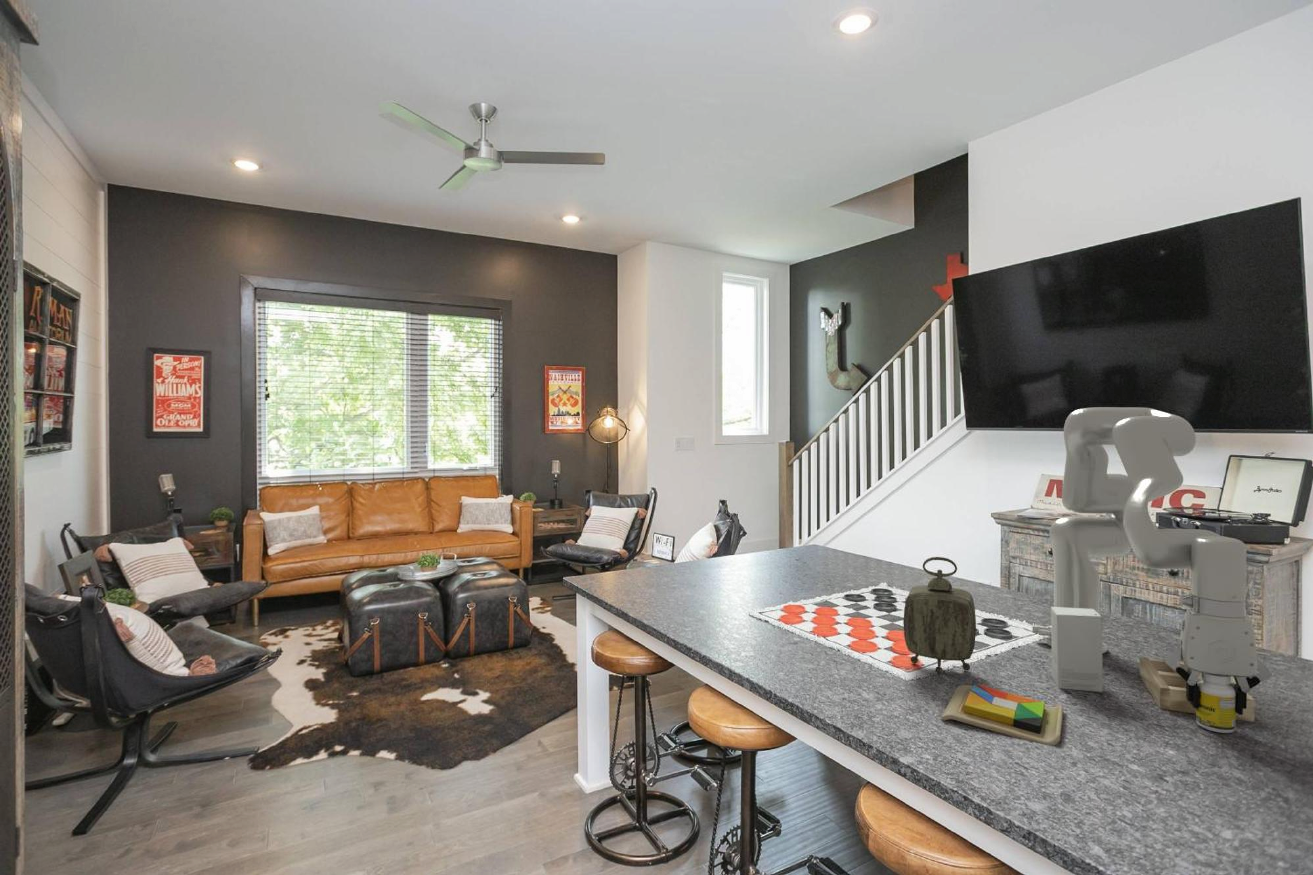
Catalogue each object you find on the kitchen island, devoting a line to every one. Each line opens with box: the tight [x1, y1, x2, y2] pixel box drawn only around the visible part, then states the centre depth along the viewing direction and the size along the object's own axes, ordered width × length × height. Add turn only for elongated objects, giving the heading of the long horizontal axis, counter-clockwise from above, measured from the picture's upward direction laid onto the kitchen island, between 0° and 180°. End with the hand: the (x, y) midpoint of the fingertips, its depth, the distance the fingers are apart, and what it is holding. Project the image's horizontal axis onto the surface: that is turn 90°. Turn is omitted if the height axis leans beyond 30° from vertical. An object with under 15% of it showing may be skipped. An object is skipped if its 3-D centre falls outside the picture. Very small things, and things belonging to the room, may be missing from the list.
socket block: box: [1139, 656, 1256, 723], centre depth 135 cm, size 14×19×4 cm
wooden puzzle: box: [941, 683, 1064, 746], centre depth 127 cm, size 18×19×4 cm
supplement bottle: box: [1195, 672, 1236, 734], centre depth 121 cm, size 5×5×10 cm
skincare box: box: [1050, 606, 1104, 693], centre depth 141 cm, size 8×7×16 cm
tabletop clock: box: [902, 556, 977, 675], centre depth 150 cm, size 14×9×25 cm, turn 65°
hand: (1215, 707), depth 121 cm, fingers closed on supplement bottle, 5 cm apart
